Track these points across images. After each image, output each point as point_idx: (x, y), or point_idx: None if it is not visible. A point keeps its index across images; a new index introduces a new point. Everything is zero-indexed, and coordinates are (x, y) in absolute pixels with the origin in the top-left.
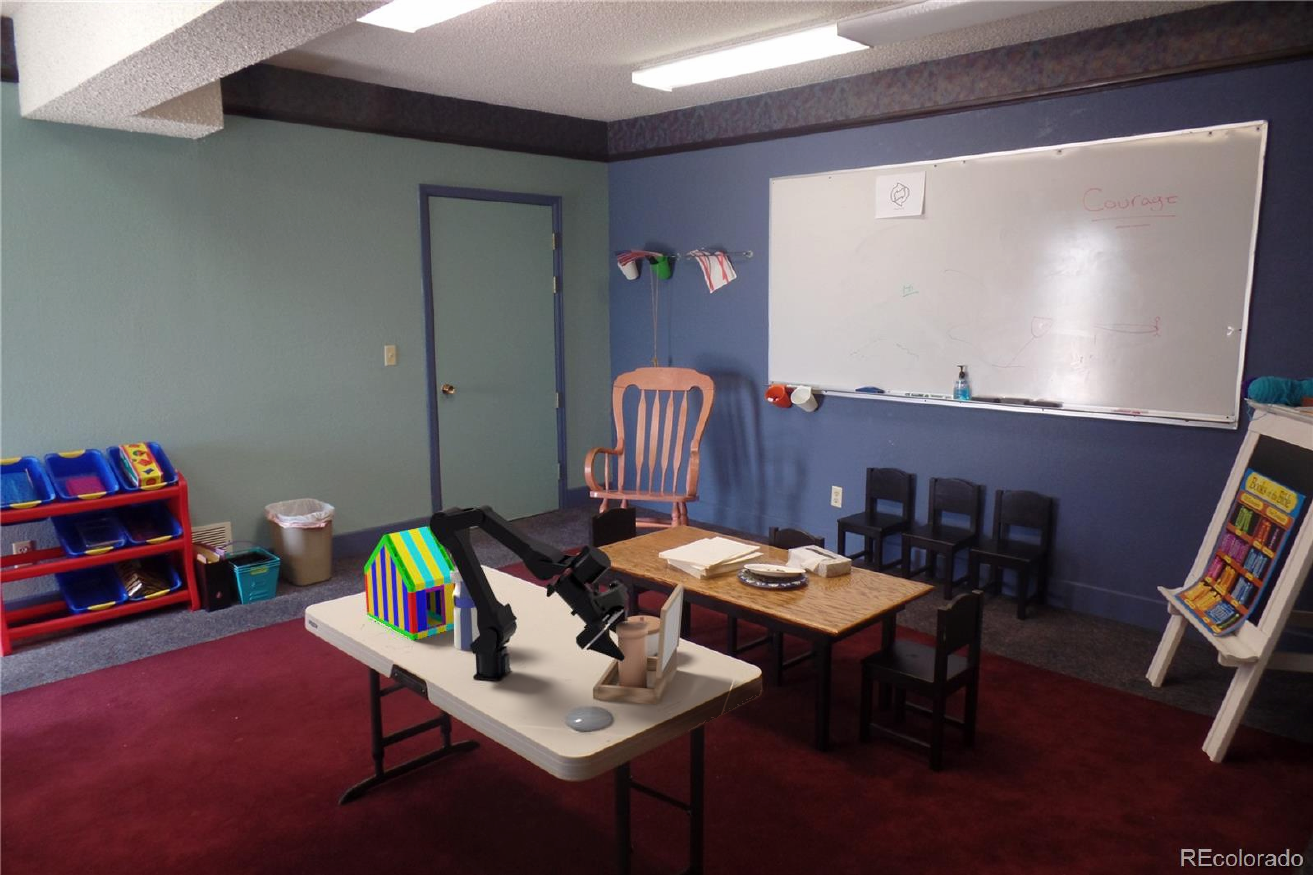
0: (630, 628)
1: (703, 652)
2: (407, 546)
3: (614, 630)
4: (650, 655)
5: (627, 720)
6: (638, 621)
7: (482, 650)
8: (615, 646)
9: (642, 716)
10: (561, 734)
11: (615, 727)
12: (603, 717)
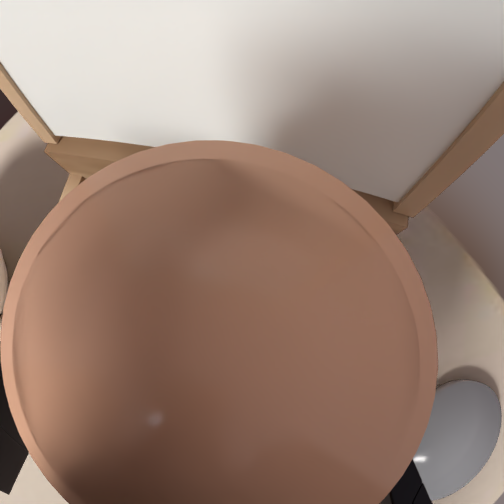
0: (315, 406)
1: (13, 123)
2: None
3: (19, 455)
4: (3, 259)
5: (454, 334)
6: (26, 273)
7: None
8: (410, 476)
9: (434, 290)
10: (487, 475)
11: (483, 361)
12: (467, 402)
